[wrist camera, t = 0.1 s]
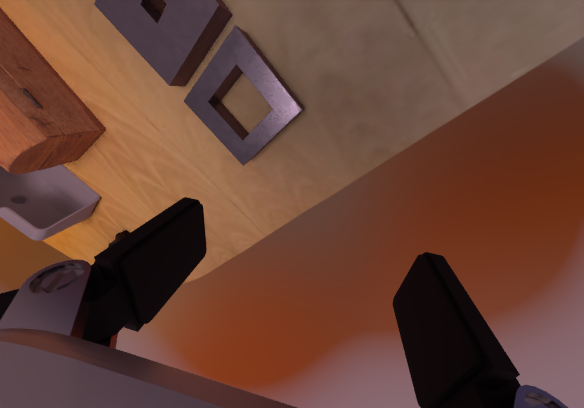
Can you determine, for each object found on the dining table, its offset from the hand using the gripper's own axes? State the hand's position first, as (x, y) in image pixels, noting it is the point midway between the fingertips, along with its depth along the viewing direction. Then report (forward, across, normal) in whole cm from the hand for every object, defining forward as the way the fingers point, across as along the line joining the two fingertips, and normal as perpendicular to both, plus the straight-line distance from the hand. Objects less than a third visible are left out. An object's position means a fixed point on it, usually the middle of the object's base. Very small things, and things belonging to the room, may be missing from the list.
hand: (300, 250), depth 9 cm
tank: (+32, +69, +24) cm, 79 cm away
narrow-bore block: (+31, +28, -14) cm, 44 cm away
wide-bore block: (+31, +15, -3) cm, 35 cm away
